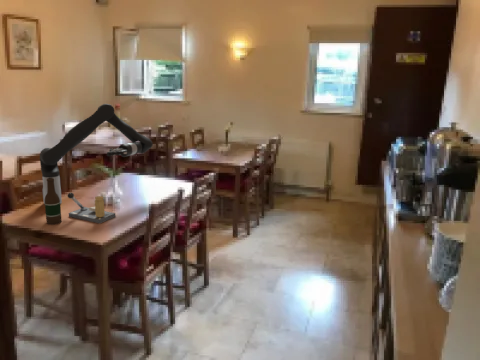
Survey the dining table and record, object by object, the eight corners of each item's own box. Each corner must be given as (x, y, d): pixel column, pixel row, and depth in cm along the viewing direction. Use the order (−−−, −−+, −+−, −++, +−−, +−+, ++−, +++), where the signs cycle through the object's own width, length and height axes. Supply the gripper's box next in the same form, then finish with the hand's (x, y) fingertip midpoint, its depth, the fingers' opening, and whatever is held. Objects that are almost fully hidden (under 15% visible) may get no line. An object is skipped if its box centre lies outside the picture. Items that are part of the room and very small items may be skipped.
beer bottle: (49, 219, 218) (45, 176, 212) (64, 219, 219) (60, 176, 212) (43, 224, 210) (39, 180, 204) (59, 224, 211) (55, 180, 205)
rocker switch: (89, 210, 224) (89, 207, 224) (94, 209, 228) (95, 206, 228) (94, 211, 223) (94, 208, 223) (100, 210, 227) (100, 207, 227)
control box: (68, 216, 223) (68, 212, 223) (85, 210, 234) (85, 206, 233) (100, 223, 215) (99, 219, 214) (115, 216, 225) (115, 212, 225)
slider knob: (94, 216, 218) (93, 197, 215) (99, 214, 221) (98, 195, 218) (100, 217, 216) (99, 198, 213) (105, 215, 220) (104, 196, 217)
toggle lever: (78, 209, 228) (65, 195, 217) (81, 204, 229) (68, 190, 219) (83, 210, 226) (69, 196, 216) (86, 205, 228) (72, 191, 218)
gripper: (119, 142, 249) (98, 146, 234) (136, 144, 244) (116, 149, 228) (119, 154, 251) (99, 159, 236) (136, 156, 246) (117, 162, 230)
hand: (108, 154), depth 232 cm, fingers closed
